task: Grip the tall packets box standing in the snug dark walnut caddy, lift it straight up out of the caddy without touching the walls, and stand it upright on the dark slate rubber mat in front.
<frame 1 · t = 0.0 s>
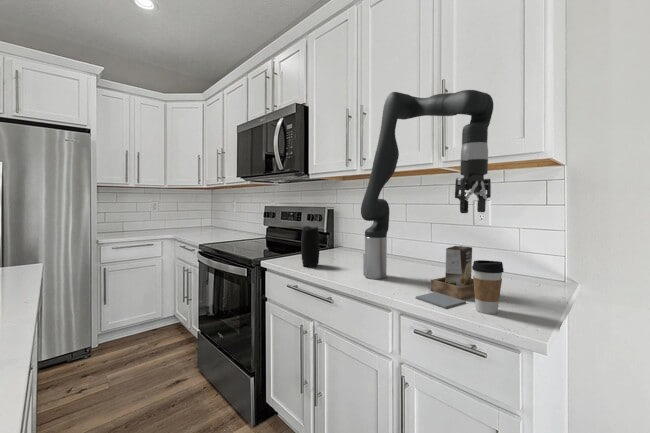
hand: (472, 212, 99), 29 cm above the worktop, tool pointing down, fingers open, 8 cm apart
walnut caddy: (458, 291, 117), on the worktop
coffee cup: (486, 311, 98), on the worktop
portable speaker: (310, 266, 161), on the worktop
slate mat: (439, 300, 107), on the worktop
coffee box: (458, 292, 117), resting in walnut caddy
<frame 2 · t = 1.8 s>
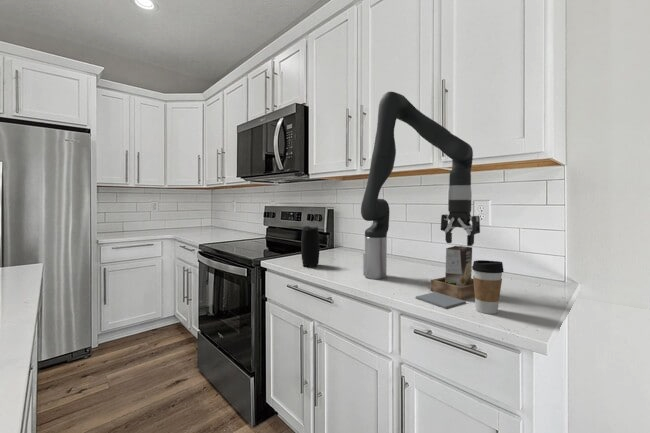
hand: (459, 244, 115), 17 cm above the worktop, tool pointing down, fingers open, 8 cm apart
nothing on the worktop moved.
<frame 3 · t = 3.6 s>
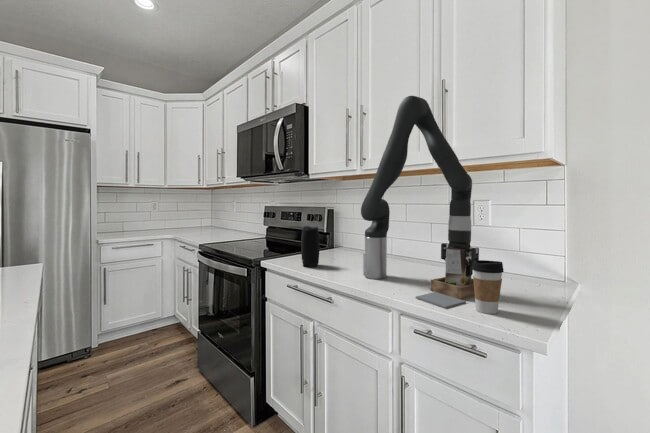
hand: (458, 274, 116), 6 cm above the worktop, tool pointing down, fingers closed on coffee box, 7 cm apart
coffee box: (458, 292, 117), resting in walnut caddy, touching gripper
everything else where it was.
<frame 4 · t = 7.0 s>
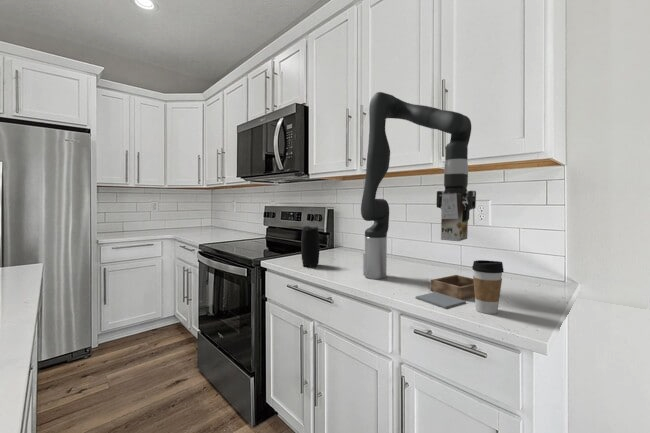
hand: (454, 220, 112), 26 cm above the worktop, tool pointing down, fingers closed on coffee box, 7 cm apart
coffee box: (454, 240, 113), point 19 cm above the worktop, touching gripper
everything else where it was.
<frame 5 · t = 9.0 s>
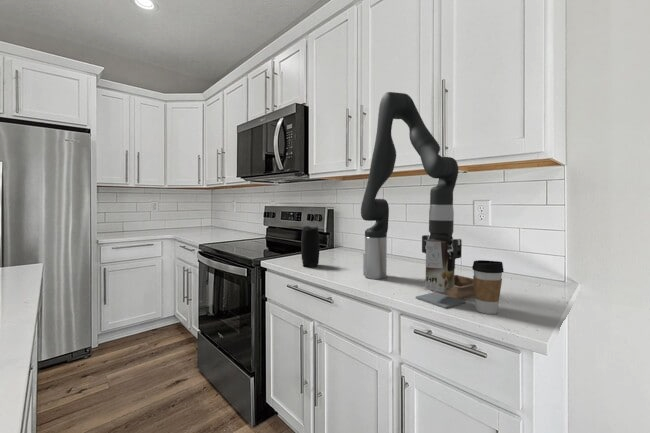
hand: (440, 268, 106), 11 cm above the worktop, tool pointing down, fingers closed on coffee box, 7 cm apart
coffee box: (440, 288, 107), point 4 cm above the worktop, touching gripper
everything else where it was.
when the fingers open (8 cm above the worktop, at t = 10.5 s): coffee box drops 1 cm, resting on slate mat.
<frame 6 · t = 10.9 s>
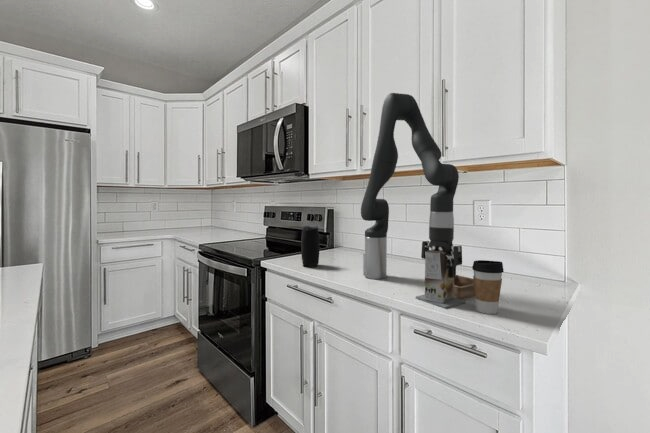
hand: (440, 274, 107), 9 cm above the worktop, tool pointing down, fingers open, 8 cm apart
coffee box: (439, 299, 107), resting on slate mat
everything else where it was.
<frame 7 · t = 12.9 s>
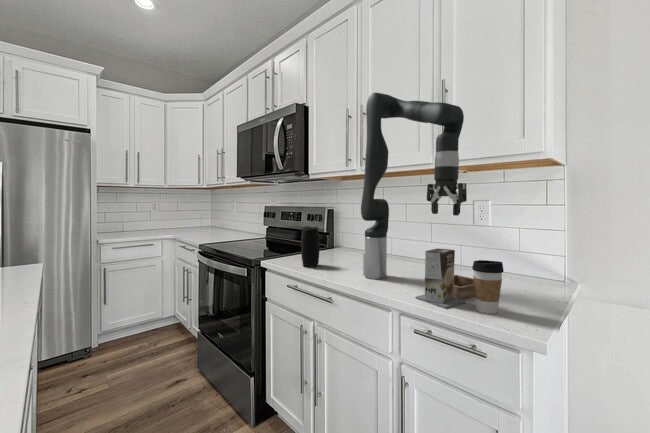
hand: (445, 214, 109), 28 cm above the worktop, tool pointing down, fingers open, 8 cm apart
nothing on the worktop moved.
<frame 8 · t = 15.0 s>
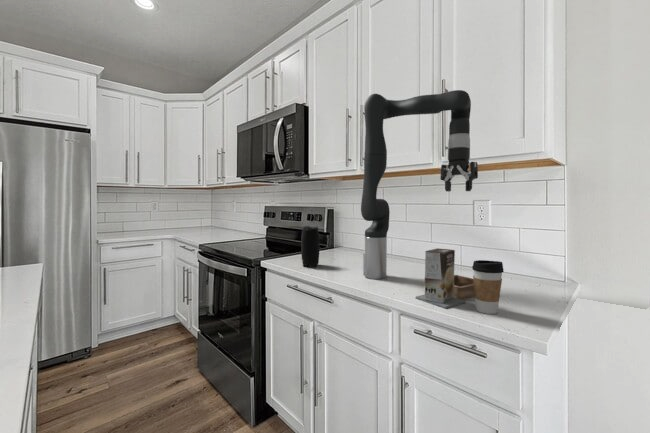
hand: (458, 191, 122), 36 cm above the worktop, tool pointing down, fingers open, 8 cm apart
nothing on the worktop moved.
at the end: coffee box 0.3 cm off-centre on the slate mat, point 0.4 cm above the slate mat's base; coffee box tilted 0°; the gripper is holding nothing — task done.
